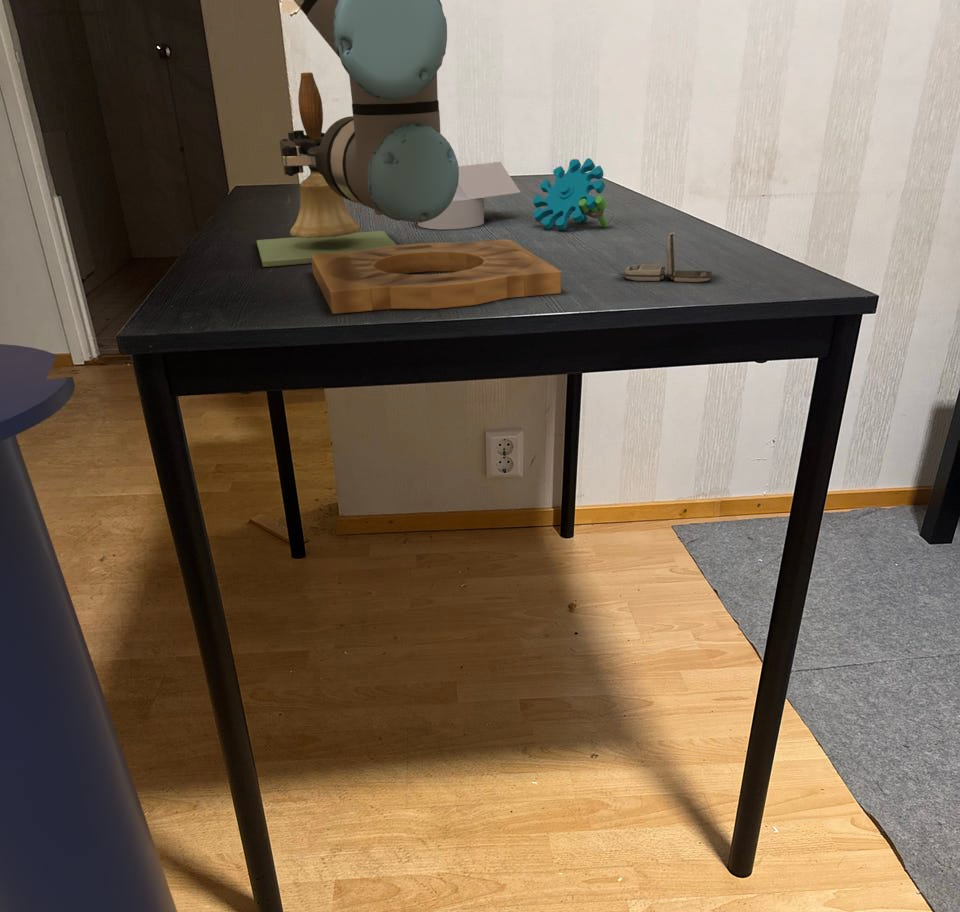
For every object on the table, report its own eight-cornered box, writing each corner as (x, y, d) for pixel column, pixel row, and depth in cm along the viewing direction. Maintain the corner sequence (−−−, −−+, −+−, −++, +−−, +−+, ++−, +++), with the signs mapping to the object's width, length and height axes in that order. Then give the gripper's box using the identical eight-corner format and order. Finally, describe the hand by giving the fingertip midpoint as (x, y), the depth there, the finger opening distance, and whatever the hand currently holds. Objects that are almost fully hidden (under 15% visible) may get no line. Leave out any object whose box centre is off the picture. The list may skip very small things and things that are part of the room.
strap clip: (623, 281, 88) (625, 235, 86) (626, 274, 91) (629, 229, 88) (710, 283, 86) (715, 236, 84) (711, 276, 89) (716, 230, 86)
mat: (263, 267, 99) (262, 261, 98) (257, 245, 110) (256, 240, 110) (403, 256, 102) (402, 250, 101) (383, 235, 113) (383, 230, 113)
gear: (516, 211, 115) (562, 146, 114) (537, 240, 120) (582, 178, 119) (572, 234, 109) (622, 166, 108) (592, 264, 114) (640, 199, 112)
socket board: (334, 318, 79) (331, 295, 78) (311, 271, 96) (309, 252, 95) (566, 296, 83) (566, 274, 82) (505, 255, 100) (505, 236, 99)
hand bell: (346, 222, 109) (327, 70, 100) (370, 232, 103) (353, 70, 94) (282, 231, 106) (256, 75, 97) (302, 241, 100) (277, 75, 91)
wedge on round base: (482, 212, 126) (405, 223, 120) (480, 159, 122) (401, 168, 116) (520, 219, 120) (441, 231, 114) (520, 164, 116) (439, 173, 110)
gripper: (297, 211, 86) (246, 185, 104) (437, 197, 91) (365, 175, 108) (286, 122, 82) (234, 111, 99) (433, 113, 86) (358, 104, 104)
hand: (302, 144), depth 104 cm, fingers closed on hand bell, 2 cm apart
